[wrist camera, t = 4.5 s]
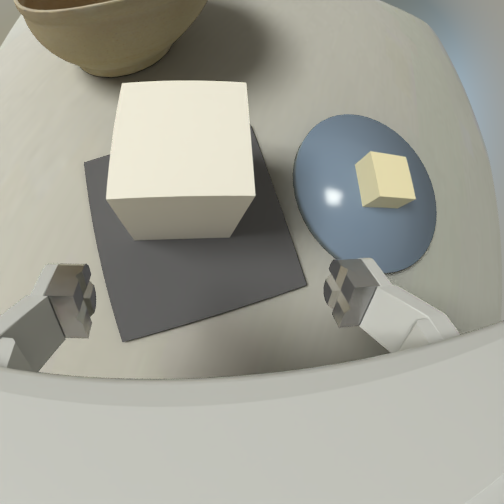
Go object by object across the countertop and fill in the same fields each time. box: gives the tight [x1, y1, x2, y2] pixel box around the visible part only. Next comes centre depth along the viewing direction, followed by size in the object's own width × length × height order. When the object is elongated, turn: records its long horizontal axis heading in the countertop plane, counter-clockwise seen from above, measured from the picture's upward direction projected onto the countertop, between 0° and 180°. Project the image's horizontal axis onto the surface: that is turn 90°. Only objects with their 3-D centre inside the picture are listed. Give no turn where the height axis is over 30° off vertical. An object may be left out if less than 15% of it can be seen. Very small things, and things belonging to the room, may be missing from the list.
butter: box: [355, 151, 416, 208], centre depth 22 cm, size 4×4×2 cm
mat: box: [84, 125, 306, 342], centre depth 21 cm, size 13×13×1 cm
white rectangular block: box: [106, 81, 256, 240], centre depth 17 cm, size 6×6×8 cm
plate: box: [293, 115, 436, 274], centre depth 24 cm, size 14×14×1 cm
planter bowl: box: [14, 0, 207, 77], centre depth 17 cm, size 16×16×11 cm
